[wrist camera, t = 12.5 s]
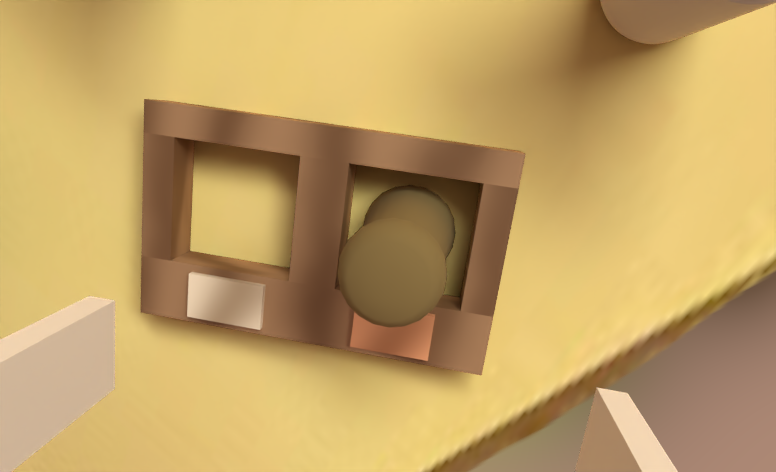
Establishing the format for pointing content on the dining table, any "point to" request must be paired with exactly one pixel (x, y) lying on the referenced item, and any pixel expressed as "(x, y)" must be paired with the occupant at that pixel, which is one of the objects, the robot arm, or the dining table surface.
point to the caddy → (316, 235)
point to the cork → (398, 257)
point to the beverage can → (672, 16)
